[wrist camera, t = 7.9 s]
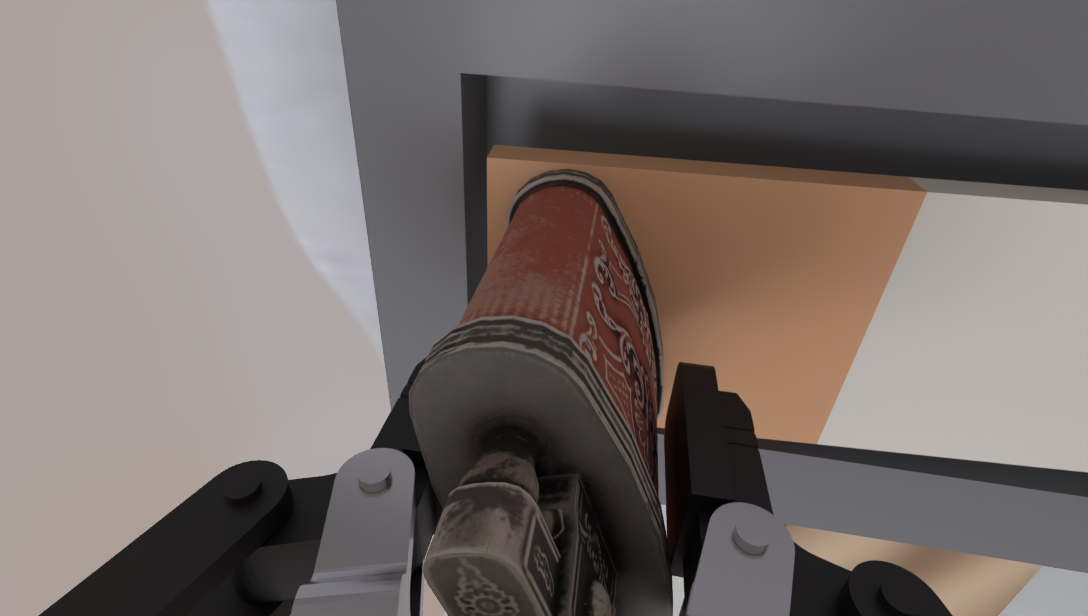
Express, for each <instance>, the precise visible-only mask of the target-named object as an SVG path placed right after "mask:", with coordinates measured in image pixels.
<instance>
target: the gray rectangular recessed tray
mask: <svg viewBox="0 0 1088 616" xmlns="http://www.w3.org/2000/svg"><path fill="white" fill-rule="evenodd" d="M336 4H337V11H338V19H339V26H340V33H341V41H342V48H343V56H344V63H345V71H346V78H347V85H348V93H349V100H350V108H351V115H352V123H353V130H354V137H355V145H356V152H357V160H358V167H359V175H360V182H361V189H362V197H363V204H364V212H365V219H366V227H367V234H368V241H369V249H370V256H371V264H372V271H373V279H374V286H375V293H376V301H377V308H378V316H379V323H380V331H381V338H382V345H383V353H384V360H385V368H386V375H387V382H388V390H389V397H390V405H391V411H392V409H393V407H394V405H395V403H396V401H397V400H398V398H400V394H401V392H402V390H403V389H404V387H405V385H407V383H408V380H409V378H410V376H411V374H412V372H413V370H414V369H415V367H416V365H417V364H418V363H420V362H421V361H422V360H423V359H425V358H426V357H427V356H428V355H429V353H430V351H431V349H432V347H433V346H434V344H435V342H436V341H437V340H438V339H440V338H441V337H442V336H443V335H445V334H446V333H447V332H448V331H450V330H451V329H452V328H453V327H455V326H457V325H458V324H459V323H460V321H461V319H462V317H463V315H464V313H465V311H466V309H467V307H468V305H469V303H470V301H471V299H472V297H473V295H474V293H475V291H476V289H477V287H478V285H479V283H480V281H481V279H482V277H483V275H484V273H485V271H486V270H487V268H488V255H487V156H488V154H489V153H490V151H491V149H492V147H493V146H494V145H504V146H517V147H530V148H542V149H555V150H568V151H581V152H594V153H607V154H620V155H633V156H646V157H659V158H672V159H685V160H698V161H710V162H723V163H736V164H749V165H762V166H775V167H788V168H801V169H814V170H827V171H840V172H853V173H865V174H878V175H891V176H904V177H917V178H930V179H943V180H956V181H969V182H982V183H995V184H1008V185H1021V186H1033V187H1046V188H1059V189H1072V190H1085V191H1088V0H336ZM664 430H665V428H657V438H658V486H659V500H660V504H664V505H666V486H665V456H664ZM757 443H758V450H759V452H760V456H761V461H762V465H763V470H764V474H765V479H766V483H767V488H768V492H769V497H770V501H771V506H772V510H773V513H774V516H775V517H777V518H778V519H779V520H780V521H781V522H782V523H783V524H788V525H794V526H800V527H807V528H813V529H819V530H825V531H831V532H838V533H844V534H850V535H856V536H863V537H869V538H875V539H881V540H887V541H894V542H900V543H906V544H912V545H918V546H925V547H931V548H937V549H943V550H949V551H956V552H962V553H968V554H974V555H981V556H987V557H993V558H999V559H1005V560H1012V561H1018V562H1024V563H1030V564H1036V565H1043V566H1049V567H1055V568H1061V569H1067V570H1074V571H1080V572H1086V573H1088V472H1079V471H1069V470H1060V469H1050V468H1040V467H1031V466H1021V465H1012V464H1002V463H992V462H983V461H973V460H964V459H954V458H944V457H935V456H925V455H916V454H906V453H896V452H887V451H877V450H868V449H858V448H848V447H839V446H829V445H820V444H810V443H800V442H791V441H781V440H772V439H762V438H757Z"/></svg>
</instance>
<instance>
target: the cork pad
mask: <svg viewBox="0 0 1088 616" xmlns="http://www.w3.org/2000/svg"><path fill="white" fill-rule="evenodd" d="M784 526H785V527H786V528H787V530H788V531H789V533H790V534H791V537H792V539H793V541H794V542H795V543H796V544H798V545H799V546H800V547H802V548H803V549H805V550H806V551H808V552H810V553H812V554H814V555H816V556H818V557H820V558H822V559H825V560H827V561H829V562H831V563H834V564H836V565H838V566H840V567H843V568H845V569H847V570H850V571H852V570H853V568H855V567H856V566H857V565H858V564H860V563H862V562H865V561H871V560H878V561H885V562H889V563H893V564H895V565H898V566H900V567H902V568H904V569H906V570H908V571H910V572H911V573H913V574H915V575H916V576H917V577H919V578H920V579H921V580H923V581H924V582H925V583H926V584H927V585H928V586H929V587H930V588H931V589H932V590H933V591H934V592H935V593H936V595H937V596H938V597H939V598H940V600H941V601H942V602H943V604H944V605H945V606H946V608H947V609H948V610H949V612H950V613H951V614H952V615H953V616H998V615H999V614H1000V613H1001V612H1002V610H1003V609H1004V608H1005V607H1006V606H1007V605H1008V604H1009V603H1010V601H1011V600H1012V599H1013V598H1014V597H1015V596H1016V595H1017V594H1018V593H1019V591H1020V590H1021V589H1022V588H1023V587H1024V586H1025V585H1026V584H1027V582H1028V581H1029V580H1030V579H1031V578H1032V577H1033V576H1034V575H1035V573H1036V572H1037V571H1038V570H1039V569H1040V568H1041V567H1042V566H1043V565H1036V564H1030V563H1024V562H1018V561H1012V560H1005V559H999V558H993V557H987V556H981V555H974V554H968V553H962V552H956V551H949V550H943V549H937V548H931V547H925V546H918V545H912V544H906V543H900V542H894V541H887V540H881V539H875V538H869V537H863V536H856V535H850V534H844V533H838V532H831V531H825V530H819V529H813V528H807V527H800V526H794V525H788V524H784Z"/></svg>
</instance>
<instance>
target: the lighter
mask: <svg viewBox="0 0 1088 616" xmlns="http://www.w3.org/2000/svg"><path fill="white" fill-rule="evenodd" d="M663 407H664V362H663V344H662V338H661V331H660V325H659V319H658V312H657V306H656V300H655V296H654V293H653V290H652V287H651V284H650V281H649V278H648V275H647V272H646V269H645V266H644V263H643V260H642V257H641V254H640V251H639V248H638V245H637V243H636V241H635V239H634V237H633V235H632V233H631V231H630V229H629V227H628V225H627V223H626V221H625V219H624V217H623V215H622V213H621V211H620V209H619V207H618V205H617V203H616V201H615V199H614V197H613V195H612V193H611V192H610V190H609V189H608V188H607V187H606V185H605V184H604V183H603V182H602V181H601V180H599V179H598V178H596V177H594V176H592V175H591V174H589V173H587V172H583V171H578V170H572V169H560V170H552V171H547V172H545V173H543V174H540V175H538V176H536V177H534V178H531V179H530V180H529V181H528V182H527V183H526V184H525V185H524V186H522V187H521V188H520V189H519V190H518V192H517V194H516V195H515V197H514V199H513V201H512V203H511V205H510V207H509V209H508V211H507V219H506V232H505V234H504V236H503V238H502V240H501V242H500V244H499V246H498V248H497V250H496V252H495V254H494V256H493V258H492V260H491V262H490V264H489V266H488V268H487V270H486V271H485V273H484V275H483V277H482V279H481V281H480V283H479V285H478V287H477V289H476V291H475V293H474V295H473V297H472V299H471V301H470V303H469V305H468V307H467V309H466V311H465V313H464V315H463V317H462V319H461V321H460V323H459V324H458V325H457V326H455V327H453V328H452V329H451V330H450V331H448V332H447V333H446V334H445V335H443V336H442V337H441V338H440V339H438V340H437V341H436V342H435V344H434V346H433V347H432V349H431V351H430V353H429V355H428V357H427V358H426V360H425V362H424V364H423V366H422V368H421V369H420V371H419V373H418V375H417V377H416V379H415V381H414V383H413V385H412V387H411V389H410V391H409V411H410V416H411V419H412V422H413V426H414V429H415V432H416V435H417V439H418V442H419V445H420V448H421V451H422V455H423V458H424V461H425V464H426V468H427V471H428V474H429V477H430V480H431V484H432V487H433V489H434V491H435V493H436V495H437V497H438V500H439V502H440V504H441V506H442V508H443V512H442V515H441V518H440V520H439V523H438V526H437V528H436V531H435V534H434V537H433V539H432V542H431V545H430V548H429V550H428V553H427V556H426V558H425V561H424V565H423V571H422V572H423V574H424V576H425V579H426V581H427V583H428V585H429V586H430V588H431V589H432V591H433V593H434V594H435V596H436V597H437V599H438V600H439V602H440V603H441V605H442V606H443V608H444V610H445V611H446V613H447V614H448V616H673V591H672V569H671V557H670V551H669V546H668V541H667V536H666V530H665V525H664V520H663V515H662V509H661V504H660V500H659V486H658V438H657V420H658V419H659V418H660V417H661V414H662V411H663Z"/></svg>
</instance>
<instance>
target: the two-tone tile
mask: <svg viewBox="0 0 1088 616" xmlns="http://www.w3.org/2000/svg"><path fill="white" fill-rule="evenodd" d="M560 169H572V170H578V171H583V172H587V173H589V174H591V175H592V176H594V177H596V178H598V179H599V180H601V181H602V182H603V183H604V184H605V185H606V187H607V188H608V189H609V190H610V192H611V193H612V195H613V197H614V199H615V201H616V203H617V205H618V207H619V209H620V211H621V213H622V215H623V217H624V219H625V221H626V223H627V225H628V227H629V229H630V231H631V233H632V235H633V237H634V239H635V241H636V243H637V245H638V248H639V251H640V254H641V257H642V260H643V263H644V266H645V269H646V272H647V275H648V278H649V281H650V284H651V287H652V290H653V293H654V296H655V300H656V306H657V312H658V319H659V325H660V331H661V338H662V344H663V362H664V407H663V411H662V414H661V417H660V418H659V419H658V420H657V428H665V421H666V414H667V410H668V405H669V401H670V396H671V392H672V388H673V383H674V379H675V374H676V370H677V366H678V364H679V362H684V363H692V364H700V365H708V366H714V368H715V371H716V377H717V384H718V390H719V391H725V392H733V393H737V394H738V395H739V397H740V398H741V399H742V401H743V402H744V403H745V405H746V406H747V407H748V409H749V410H750V411H751V415H752V420H753V425H754V429H755V432H754V434H756V438H762V439H772V440H781V441H791V442H800V443H810V444H820V445H829V446H839V447H848V448H858V449H868V450H877V451H887V452H896V453H906V454H916V455H925V456H935V457H944V458H954V459H964V460H973V461H983V462H992V463H1002V464H1012V465H1021V466H1031V467H1040V468H1050V469H1060V470H1069V471H1079V472H1088V191H1085V190H1072V189H1059V188H1046V187H1033V186H1021V185H1008V184H995V183H982V182H969V181H956V180H943V179H930V178H917V177H904V176H891V175H878V174H865V173H853V172H840V171H827V170H814V169H801V168H788V167H775V166H762V165H749V164H736V163H723V162H710V161H698V160H685V159H672V158H659V157H646V156H633V155H620V154H607V153H594V152H581V151H568V150H555V149H542V148H530V147H517V146H504V145H494V146H493V147H492V149H491V151H490V153H489V154H488V156H487V255H488V266H489V264H490V262H491V260H492V258H493V256H494V254H495V252H496V250H497V248H498V246H499V244H500V242H501V240H502V238H503V236H504V234H505V232H506V219H507V211H508V209H509V207H510V205H511V203H512V201H513V199H514V197H515V195H516V194H517V192H518V190H519V189H520V188H521V187H522V186H524V185H525V184H526V183H527V182H528V181H529V180H530V179H531V178H534V177H536V176H538V175H540V174H543V173H545V172H547V171H552V170H560Z"/></svg>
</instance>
